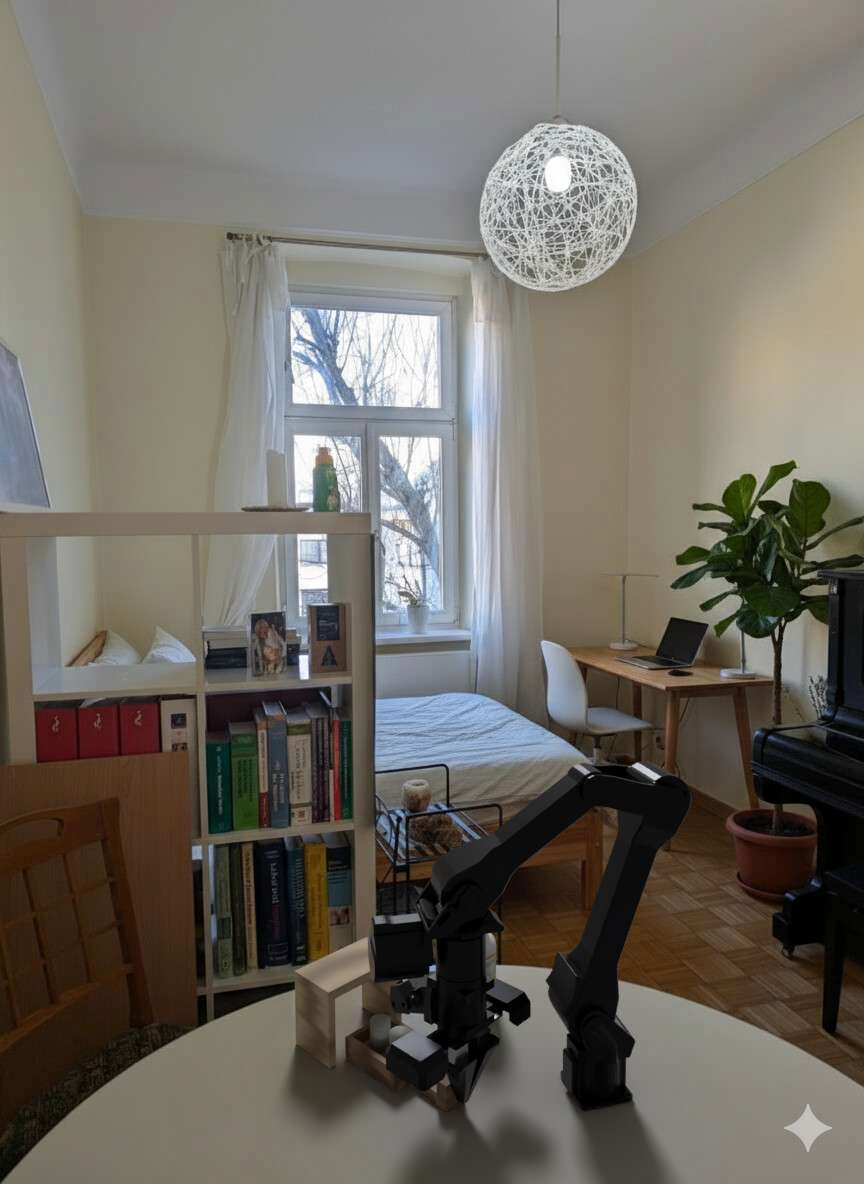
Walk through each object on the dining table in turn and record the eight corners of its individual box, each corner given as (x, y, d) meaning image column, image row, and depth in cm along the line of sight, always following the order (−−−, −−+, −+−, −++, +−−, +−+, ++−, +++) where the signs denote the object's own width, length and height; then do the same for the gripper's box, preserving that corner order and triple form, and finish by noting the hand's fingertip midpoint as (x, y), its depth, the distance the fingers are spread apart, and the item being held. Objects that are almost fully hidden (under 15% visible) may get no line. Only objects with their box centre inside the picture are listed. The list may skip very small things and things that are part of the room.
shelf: (401, 1025, 107) (401, 955, 106) (329, 1068, 98) (328, 992, 98) (367, 1003, 112) (366, 936, 111) (296, 1043, 103) (294, 970, 103)
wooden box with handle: (475, 1089, 94) (475, 1052, 94) (434, 1121, 89) (433, 1081, 89) (386, 1033, 105) (386, 999, 105) (345, 1058, 100) (345, 1023, 100)
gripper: (463, 917, 102) (464, 1034, 103) (351, 975, 89) (353, 1109, 90) (533, 947, 94) (533, 1074, 95) (421, 1016, 81) (423, 1162, 82)
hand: (462, 1101), depth 91 cm, fingers closed, pressing on wooden box with handle
